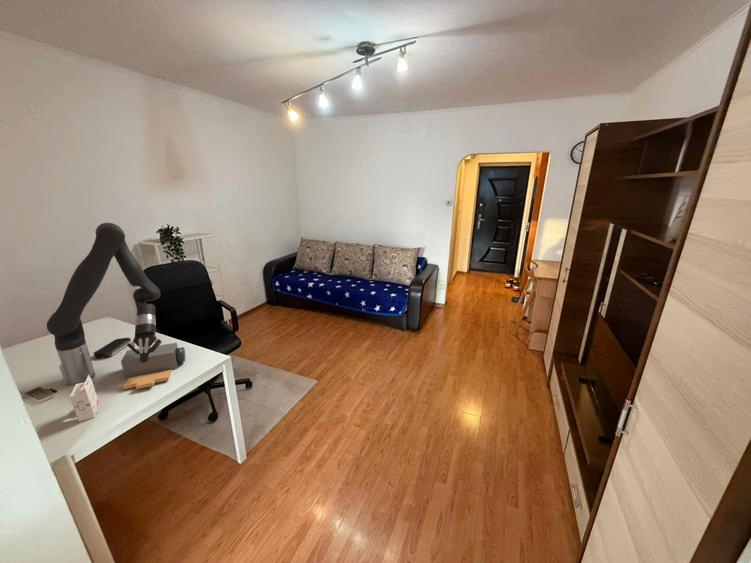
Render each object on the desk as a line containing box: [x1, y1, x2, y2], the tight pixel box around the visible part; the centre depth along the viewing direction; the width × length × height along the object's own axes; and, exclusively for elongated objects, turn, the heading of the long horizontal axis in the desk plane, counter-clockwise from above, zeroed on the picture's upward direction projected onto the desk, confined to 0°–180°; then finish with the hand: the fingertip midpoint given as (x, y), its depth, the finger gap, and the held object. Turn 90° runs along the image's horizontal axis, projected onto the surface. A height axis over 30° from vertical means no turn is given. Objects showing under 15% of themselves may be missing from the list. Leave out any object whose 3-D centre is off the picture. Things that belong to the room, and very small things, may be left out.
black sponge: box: [92, 337, 132, 358], centre depth 157 cm, size 16×8×4 cm, turn 3°
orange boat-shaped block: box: [122, 369, 173, 390], centre depth 132 cm, size 16×2×12 cm
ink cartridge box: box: [69, 375, 100, 423], centre depth 113 cm, size 9×5×15 cm, turn 33°
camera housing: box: [120, 342, 186, 379], centre depth 142 cm, size 23×10×10 cm, turn 116°
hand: (144, 362), depth 130 cm, fingers closed
